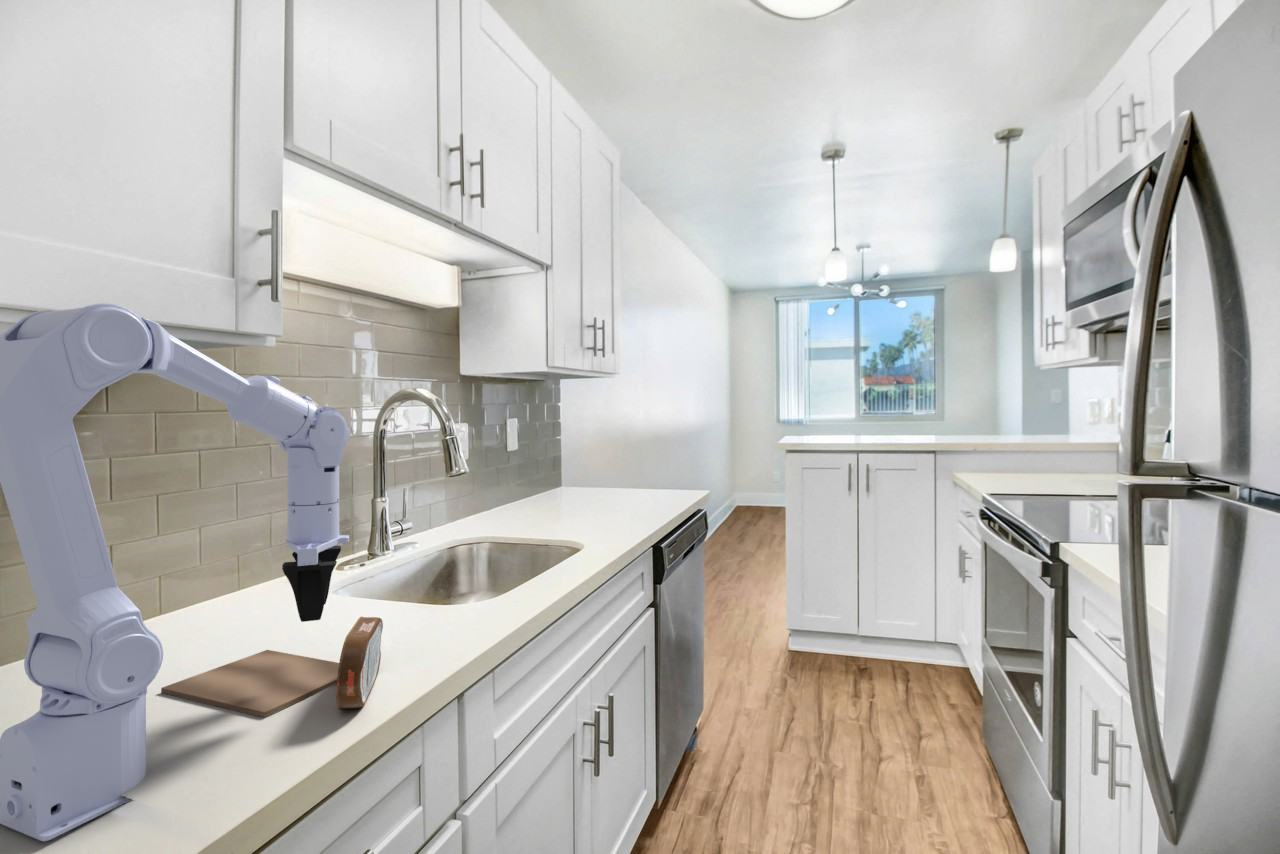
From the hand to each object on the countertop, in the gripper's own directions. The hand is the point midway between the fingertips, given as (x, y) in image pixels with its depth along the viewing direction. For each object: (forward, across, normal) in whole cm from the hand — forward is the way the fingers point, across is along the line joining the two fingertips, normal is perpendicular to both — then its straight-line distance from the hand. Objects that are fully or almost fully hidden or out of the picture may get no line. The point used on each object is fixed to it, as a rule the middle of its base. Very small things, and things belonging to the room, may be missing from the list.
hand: (314, 612), depth 78 cm
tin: (+10, -4, -6) cm, 12 cm away
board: (+9, +4, +6) cm, 12 cm away
